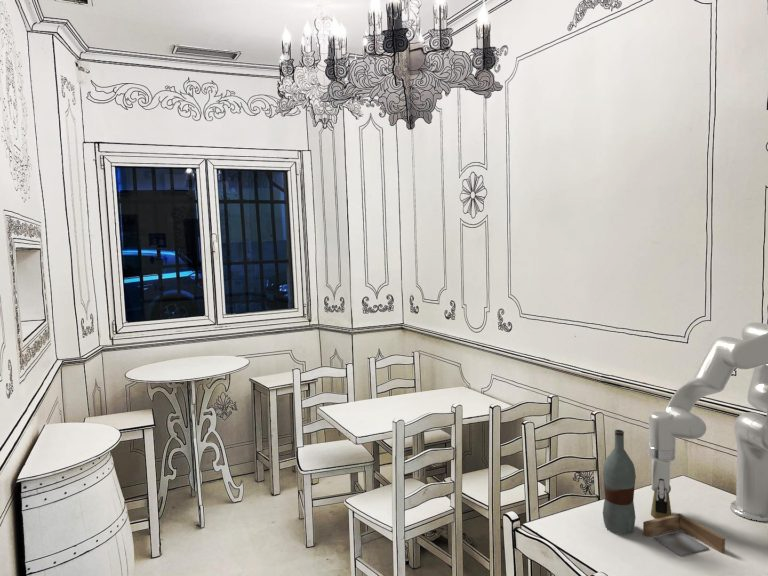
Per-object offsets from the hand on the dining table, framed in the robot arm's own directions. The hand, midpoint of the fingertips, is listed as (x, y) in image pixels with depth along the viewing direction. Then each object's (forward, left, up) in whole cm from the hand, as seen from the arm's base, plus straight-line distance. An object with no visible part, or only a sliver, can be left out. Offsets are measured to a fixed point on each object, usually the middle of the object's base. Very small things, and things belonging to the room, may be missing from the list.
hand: (661, 506), depth 177 cm
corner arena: (+8, +15, -3) cm, 17 cm away
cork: (0, 0, -3) cm, 3 cm away
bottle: (+17, +1, -3) cm, 18 cm away
